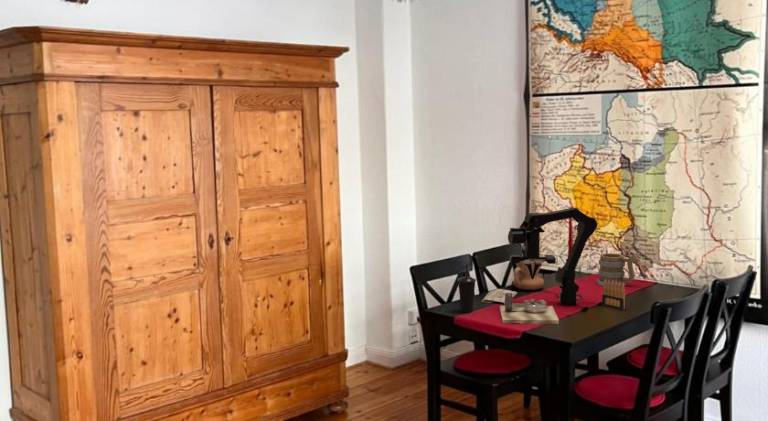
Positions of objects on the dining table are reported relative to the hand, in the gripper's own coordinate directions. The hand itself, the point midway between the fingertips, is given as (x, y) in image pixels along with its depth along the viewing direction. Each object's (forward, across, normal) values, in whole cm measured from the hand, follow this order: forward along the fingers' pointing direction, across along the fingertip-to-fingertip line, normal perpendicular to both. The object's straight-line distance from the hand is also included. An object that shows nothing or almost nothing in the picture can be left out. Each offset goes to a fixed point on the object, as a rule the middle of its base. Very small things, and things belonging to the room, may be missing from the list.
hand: (532, 278), depth 339 cm
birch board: (+12, +3, +16) cm, 20 cm away
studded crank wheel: (+10, +4, +14) cm, 17 cm away
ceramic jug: (+12, -1, -32) cm, 34 cm away
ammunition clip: (+12, -34, +1) cm, 36 cm away
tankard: (+12, -44, -41) cm, 61 cm away
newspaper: (+13, +14, -15) cm, 24 cm away
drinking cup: (+12, +28, +9) cm, 32 cm away
